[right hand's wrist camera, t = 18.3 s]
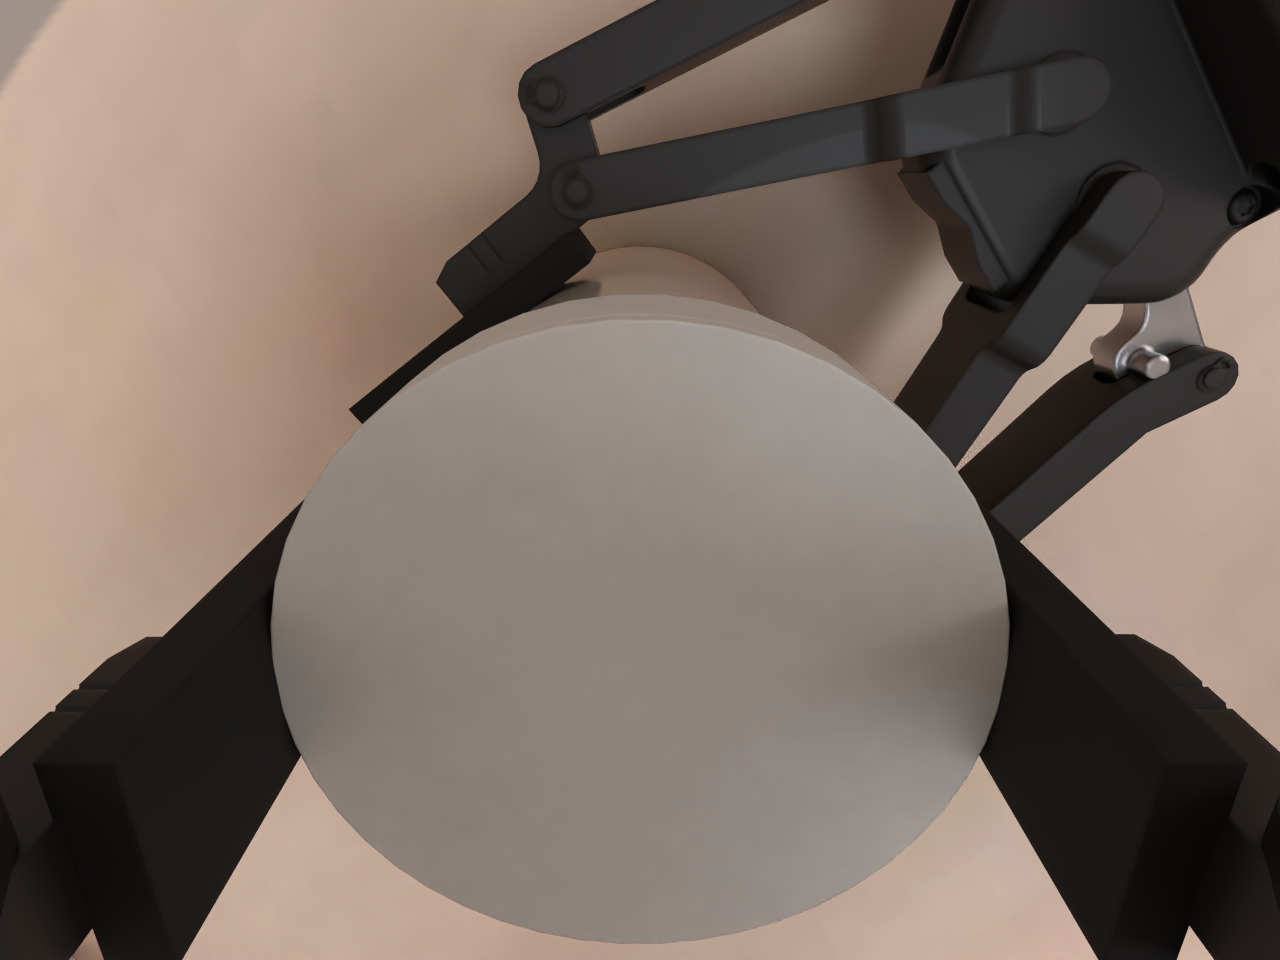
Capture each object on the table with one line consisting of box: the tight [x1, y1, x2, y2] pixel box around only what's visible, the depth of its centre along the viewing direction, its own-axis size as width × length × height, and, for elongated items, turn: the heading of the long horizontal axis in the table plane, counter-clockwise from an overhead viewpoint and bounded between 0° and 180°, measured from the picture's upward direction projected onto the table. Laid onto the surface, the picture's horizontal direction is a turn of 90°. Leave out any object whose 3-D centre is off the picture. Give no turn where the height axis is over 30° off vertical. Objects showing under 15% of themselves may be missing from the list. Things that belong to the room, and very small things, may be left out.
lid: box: [270, 294, 1010, 943], centre depth 11 cm, size 10×10×2 cm
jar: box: [528, 246, 761, 315], centre depth 18 cm, size 9×9×15 cm
